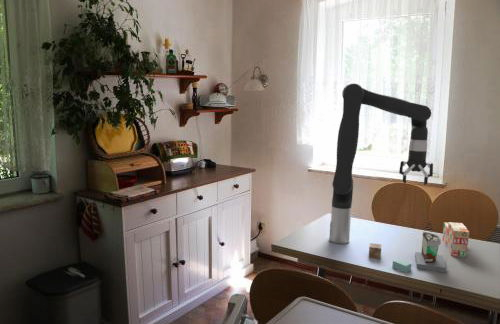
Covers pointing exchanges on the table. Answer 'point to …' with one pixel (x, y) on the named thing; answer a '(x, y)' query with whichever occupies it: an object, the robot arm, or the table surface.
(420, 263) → the slate board
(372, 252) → the walnut block
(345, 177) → the robot arm
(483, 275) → the table surface
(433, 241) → the food container
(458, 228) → the stack of blocks
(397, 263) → the teal block
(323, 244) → the table surface
